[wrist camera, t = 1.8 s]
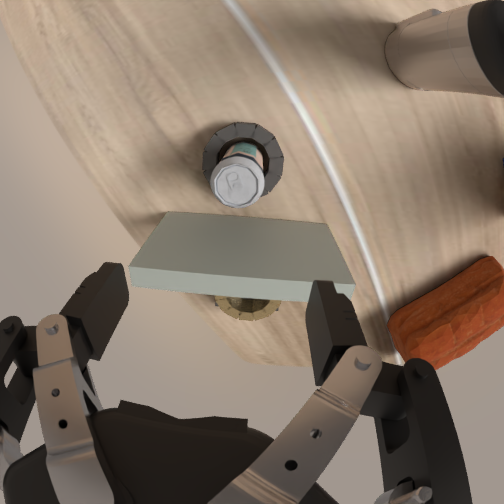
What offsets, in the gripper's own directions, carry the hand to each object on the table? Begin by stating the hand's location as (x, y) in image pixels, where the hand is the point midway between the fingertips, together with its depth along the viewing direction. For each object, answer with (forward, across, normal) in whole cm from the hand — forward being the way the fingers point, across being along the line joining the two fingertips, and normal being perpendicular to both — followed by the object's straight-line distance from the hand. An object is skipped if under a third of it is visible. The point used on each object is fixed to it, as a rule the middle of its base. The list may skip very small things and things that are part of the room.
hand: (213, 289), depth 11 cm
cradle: (+26, 0, 0) cm, 26 cm away
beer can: (+26, 0, 0) cm, 26 cm away
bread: (+26, -42, +22) cm, 54 cm away
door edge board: (+26, -1, +9) cm, 27 cm away
